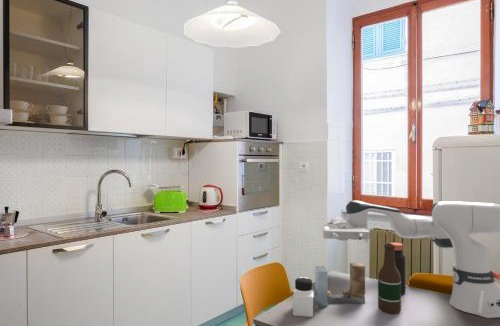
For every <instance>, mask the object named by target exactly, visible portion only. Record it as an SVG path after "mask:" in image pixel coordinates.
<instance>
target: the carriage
mask: <svg viewBox="0 0 500 326" xmlns="http://www.w3.org/2000/svg"><path fill="white" fill-rule="evenodd" d="M341 295H343V296H350V297H351V298H364V297H365V295H366V266H365V265H364V264H363V263H362V262H349V288H348V289H347V290H342V294H341Z"/></svg>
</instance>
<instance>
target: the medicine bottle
mask: <svg viewBox="0 0 500 326" xmlns="http://www.w3.org/2000/svg"><path fill="white" fill-rule="evenodd" d="M294 282H295V283H294V284H295V285H294V290H293V295H292V315H293V316H294V317H295V316H296V317H307V318H314V315H315V289H313V280H312V279H310V278H309V277H305V276H303V277H302V276H301V277H297V278H296V279H295V280H294Z"/></svg>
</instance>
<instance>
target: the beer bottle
mask: <svg viewBox="0 0 500 326" xmlns="http://www.w3.org/2000/svg"><path fill="white" fill-rule="evenodd" d="M383 247H384V256H383V264H382V267H381V268H380V269H379V272H378V274H377V275H378V277H377V307H378V310H379V311H380V312H382V313H385V314H387V315H399V313H401V311H402V295H401V275H400V273H399V271H398V269H397V268H396V265H395V253H394V248H395V245H393V244H390V242H388V243H385V244H384V245H383Z"/></svg>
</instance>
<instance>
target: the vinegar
mask: <svg viewBox="0 0 500 326" xmlns="http://www.w3.org/2000/svg"><path fill="white" fill-rule="evenodd" d="M389 244H393V245H395V248H394V253H395V265H396V268H397V269H398V271H399V273H400V275H401V296H402V295H404V294H406V256H405V254H403V251H404V244H403V243H401V242H389Z"/></svg>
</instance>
